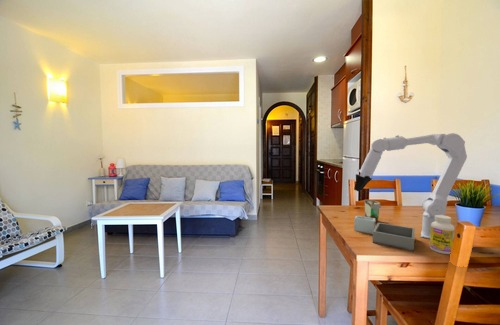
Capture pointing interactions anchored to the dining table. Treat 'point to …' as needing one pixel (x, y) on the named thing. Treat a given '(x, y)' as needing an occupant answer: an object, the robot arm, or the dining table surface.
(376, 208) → the food container
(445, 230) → the supplement bottle
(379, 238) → the big crate
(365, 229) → the small crate
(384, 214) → the dining table surface
